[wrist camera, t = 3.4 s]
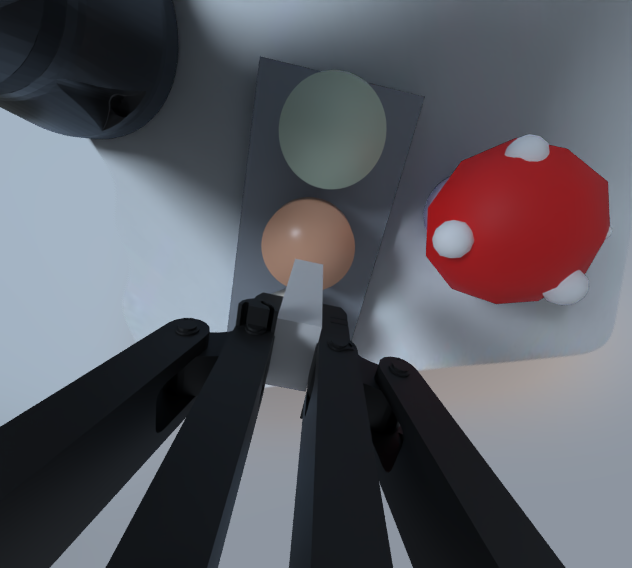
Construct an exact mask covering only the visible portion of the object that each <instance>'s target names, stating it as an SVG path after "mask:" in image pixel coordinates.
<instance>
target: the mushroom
mask: <svg viewBox="0 0 632 568" xmlns="http://www.w3.org/2000/svg"><path fill="white" fill-rule="evenodd" d="M423 213H424V225H425V228H426V230H427V242H426V256H427V258H428V259H429V260H430V262H431V263H432V264H433V265H434V267H435V268H436V269H437V271H438V272H439V273H440V274H441V276H442V277H443V278H444V280H445V281H446V282H447V283H448V285H449V286H450V287H451V288H452V289H454V290H457V291H460V292H463V293H466V294H468V295H471V296H474V297H477V298H480V299H483V300H486V301H489V302H492V303H495V304H502V303H516V302H530V301H539V300H541V299H542V298H544V297H545V299H546V300H547V301H549V302H552V303H555V304H559V305H572V304H574V303H576V302H578V301H580V300H581V299H583V298H584V297H585V295H586V294H587V292H588V290H589V279H588V278H587V277H586V276H585V275H584V274H585V273H586V271H587V270H588V268H589V266H590V265H591V263H592V261H593V259H594V258H595V256H596V254H597V252H598V251H599V249H600V247H601V245H602V244H603V242H604V240H605V239H606V238H608V237H609V236H610V235H611V233H612V228H611V227H610V217H609V194H608V181H606V180H605V179H604V178H603V177H601V176H600V175H599V174H598V173H597V172H595V171H594V170H593V169H592V168H590V167H589V166H588V165H587V164H586V163H584V162H583V161H582V160H581V159H579V158H578V157H577V156H576V155H574V154H573V153H572V152H571V151H570V150H568V149H566V148H561V147H557V146H552V145H549V144H548V142H547V141H545V140H544V139H543V138H542V137H540V136H537V135H532V134H527V135H525V136H522V137H520V138H515V139H512V140H510V141H508V142H505V143H503V144H501V145H498V146H496V147H494V148H491V149H489V150H487V151H484V152H482V153H480V154H477V155H475V156H473V157H470V158H468V159H465V160H463V161H461V163H460V164H459V165H458V167H457V168H456V169H455V171H454V172H453V174H452V175H451V176H450V177H448V178H447V179H445V180H444V181H442V182H441V183H439V184H438V185H437V186H436V187H435V189H434V190H433V191H432V193H431V194H430V195H429V197H428V199H427V202H426V205H425V209H424V212H423Z"/></svg>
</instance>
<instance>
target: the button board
mask: <svg viewBox="0 0 632 568" xmlns="http://www.w3.org/2000/svg"><path fill="white" fill-rule="evenodd" d="M318 72H321V71H318V70H314V69H310V68H306V67H301V66H297V65H293V64H289V63H285V62H281V61H277V60H273V59H269V58H265V57H261V56H260V60H259V68H258V77H257V85H256V93H255V102H254V110H253V119H252V127H251V135H250V144H249V152H248V161H247V169H246V177H245V186H244V194H243V203H242V211H241V219H240V228H239V236H238V245H237V253H236V261H235V270H234V278H233V287H232V295H231V303H230V312H229V320H228V329H227V332H229V331H233V329H234V327H235V326H236V318H237V311H238V304H239V303H240V302H241V301H242V300H245V299H252V298H255V297H256V296H257V295H259V294H261V293H263V292H264V293H269V294H272V293H274V292H277V291H280V290H286V287H287V286H285V285H283V284H282V283H280V282H279V281H278V280H277V279H276V278H274V276H273V275H272V274H271V273H270V271H269V270H268V268H267V266H266V264H265V262H264V259H263V256H262V249H261V243H262V236H263V232H264V229H265V227H266V225H267V223H268V222H269V220H270V219H271V218H272V216H273V215H274V214H275V213H276V212H277V211H278V210H279V209H280V208H281V207H282V206H283V205H285V204H286V203H288V202H290V201H292V200H294V199H298V198H303V197H315V198H320V199H324V200H326V201H328V202H330V203H332V204H333V205H335V206H336V207H337V208H339V209H340V210H341V212H342V213H343V214H344V215H345V217H346V218H347V220H348V222H349V224H350V227H351V230H352V233H353V236H354V240H355V254H354V259H353V262H352V265H351V267H350V269H349V270H348V272H347V273H346V275H345V276H344V277H343V278H342V279H341V280H340V281H339V282H337V283H336V284H334V285H333V286H331V287H329V288H327V289H324V290H323V300H322V304H327V305H331V306H336V307H341V308H342V309H343V310H344V311H345V312H346V314H347V321H348V327H349V334H350V341H352V337H353V334H354V331H355V327H356V324H357V321H358V317H359V314H360V311H361V307H362V304H363V301H364V297H365V294H366V291H367V287H368V284H369V281H370V277H371V274H372V271H373V267H374V264H375V261H376V258H377V254H378V251H379V248H380V244H381V241H382V238H383V234H384V231H385V228H386V224H387V221H388V218H389V214H390V211H391V208H392V204H393V201H394V198H395V194H396V191H397V188H398V184H399V181H400V178H401V174H402V171H403V168H404V164H405V161H406V158H407V154H408V151H409V148H410V144H411V141H412V138H413V135H414V131H415V128H416V125H417V121H418V118H419V115H420V111H421V108H422V105H423V101H424V98H425V97H423V96H419V95H415V94H411V93H407V92H403V91H399V90H395V89H391V88H387V87H383V86H379V85H375V84H371V83H368V84H369V85H370V86H371V87H372V89H373V90H374V91H375V92H376V94H377V96H378V97H379V99H380V101H381V103H382V106H383V109H384V112H385V117H386V140H385V144H384V148H383V151H382V154H381V156H380V158H379V160H378V162H377V163H376V165H375V166H374V168H373V169H372V170H371V171H370V172H369V173H368V174H367V175H366V176H365V177H364V178H363V179H361V180H360V181H358V182H357V183H355V184H353V185H351V186H348V187H345V188H341V189H322V188H318V187H315V186H312V185H310V184H308V183H306V182H305V181H303V180H302V179H301V178H299V177H298V176H297V175H296V174H295V173H294V172H293V171H292V169H291V168H290V167H289V165H288V163H287V162H286V160H285V158H284V155H283V153H282V150H281V146H280V141H279V120H280V116H281V112H282V109H283V106H284V104H285V102H286V100H287V98H288V96H289V95H290V93H291V92H292V91H293V89H294V88H295V87H296V86H297V85H298V84H299V83H300V82H301V81H303V80H304V79H306V78H307V77H309V76H311V75H313V74H315V73H318Z"/></svg>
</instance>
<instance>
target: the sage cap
mask: <svg viewBox="0 0 632 568" xmlns="http://www.w3.org/2000/svg"><path fill="white" fill-rule="evenodd" d="M385 140H386V117H385V112H384V109H383V106H382V103H381V101H380V99H379V97H378V96H377V94H376V92H375V91H374V90H373V89H372V87H371V86H370V85H369V84H368V83H367V82H366V81H364V80H363V79H362V78H360V77H358V76H356V75H355V74H353V73H350V72H347V71H342V70H326V71H321V72H318V73H315V74H313V75H311V76H309V77H307V78H306V79H304V80H303V81H301V82H300V83H299V84H298V85H297V86H296V87H295V88H294V89H293V91H292V92H291V93H290V95H289V96H288V98H287V100H286V102H285V104H284V106H283V109H282V112H281V116H280V120H279V141H280V146H281V150H282V153H283V155H284V158H285V160H286V162H287V163H288V165H289V167H290V168H291V169H292V171H293V172H294V173H295V174H296V175H297V176H298V177H299V178H301V179H302V180H303V181H305V182H306V183H308V184H310V185H312V186H315V187H318V188H322V189H341V188H345V187H348V186H351V185H353V184H355V183H357V182H358V181H360V180H361V179H363V178H364V177H365V176H366V175H367V174H368V173H369V172H370V171H371V170H372V169H373V168H374V166H375V165H376V163H377V162H378V160H379V158H380V156H381V154H382V151H383V148H384V144H385Z"/></svg>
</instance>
